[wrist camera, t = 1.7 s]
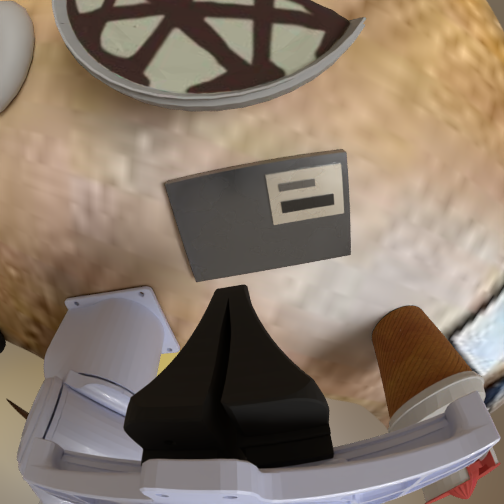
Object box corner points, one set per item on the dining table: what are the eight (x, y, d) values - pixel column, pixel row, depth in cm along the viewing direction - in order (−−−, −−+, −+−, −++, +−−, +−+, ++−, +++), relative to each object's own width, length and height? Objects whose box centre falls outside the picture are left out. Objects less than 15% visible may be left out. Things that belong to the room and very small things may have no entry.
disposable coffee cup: (399, 279, 25) (462, 384, 15) (450, 307, 28) (502, 390, 18) (338, 347, 30) (369, 451, 19) (396, 363, 32) (429, 446, 22)
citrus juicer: (487, 380, 40) (526, 461, 23) (451, 423, 49) (477, 493, 32) (423, 404, 40) (459, 503, 23) (393, 444, 49) (415, 522, 32)
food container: (97, 69, 15) (-1, 74, 7) (135, -12, 13) (61, -65, 4) (268, 131, 19) (297, 176, 10) (311, 50, 16) (379, 27, 7)
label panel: (197, 276, 24) (195, 284, 23) (167, 180, 20) (163, 186, 19) (347, 249, 23) (351, 256, 22) (342, 149, 19) (347, 153, 18)
